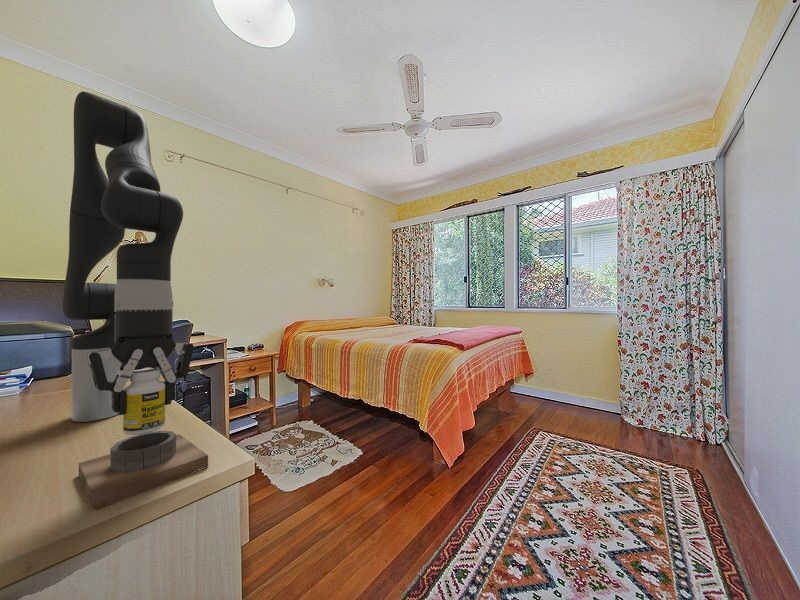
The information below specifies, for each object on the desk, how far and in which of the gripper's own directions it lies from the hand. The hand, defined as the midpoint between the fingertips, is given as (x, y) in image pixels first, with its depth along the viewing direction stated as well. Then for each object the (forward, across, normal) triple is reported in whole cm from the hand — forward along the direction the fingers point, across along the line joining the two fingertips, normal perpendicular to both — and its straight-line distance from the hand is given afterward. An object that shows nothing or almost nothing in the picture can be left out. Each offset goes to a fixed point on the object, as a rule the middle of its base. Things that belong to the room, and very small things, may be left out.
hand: (144, 408), depth 52 cm
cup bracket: (+10, 0, 0) cm, 10 cm away
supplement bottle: (+4, 0, 0) cm, 4 cm away
